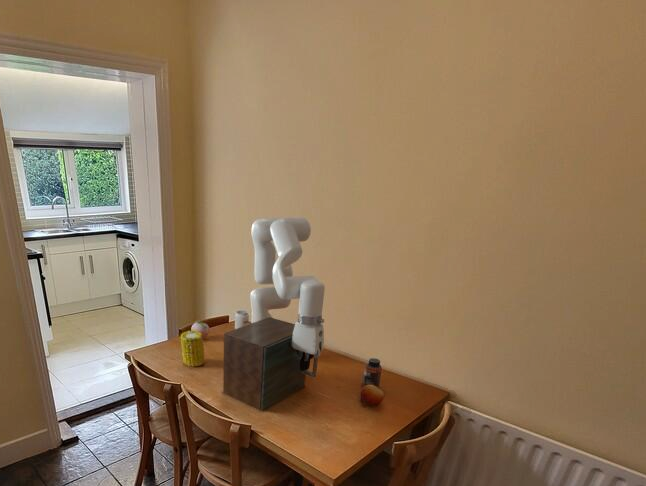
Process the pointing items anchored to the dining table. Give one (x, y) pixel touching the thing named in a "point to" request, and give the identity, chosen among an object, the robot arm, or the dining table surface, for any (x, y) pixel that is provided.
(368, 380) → the supplement bottle
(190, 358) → the food
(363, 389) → the fruit
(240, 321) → the beverage can
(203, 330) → the decorative fruit
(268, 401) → the door
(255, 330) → the cupboard
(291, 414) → the dining table surface
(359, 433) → the dining table surface
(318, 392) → the dining table surface
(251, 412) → the dining table surface
